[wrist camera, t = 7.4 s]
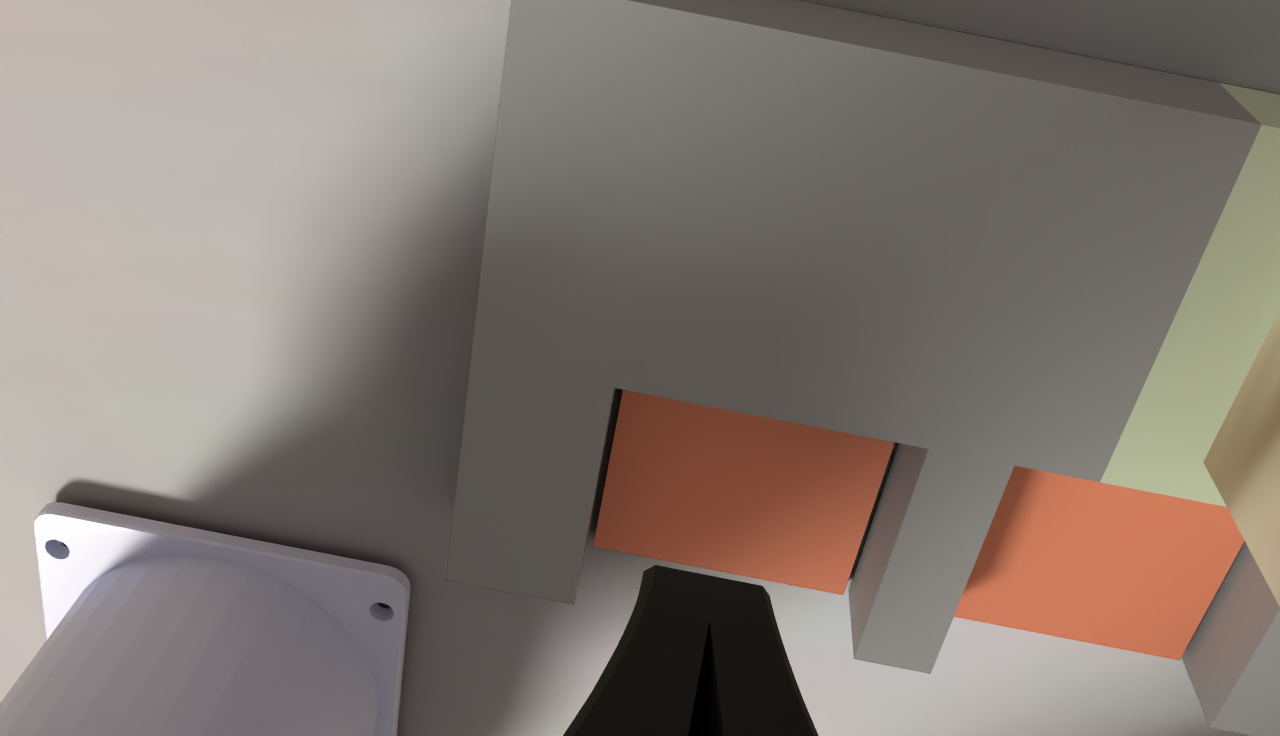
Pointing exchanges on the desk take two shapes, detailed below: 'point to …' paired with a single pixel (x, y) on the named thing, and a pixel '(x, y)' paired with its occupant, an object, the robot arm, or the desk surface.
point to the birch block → (1254, 459)
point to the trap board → (875, 327)
